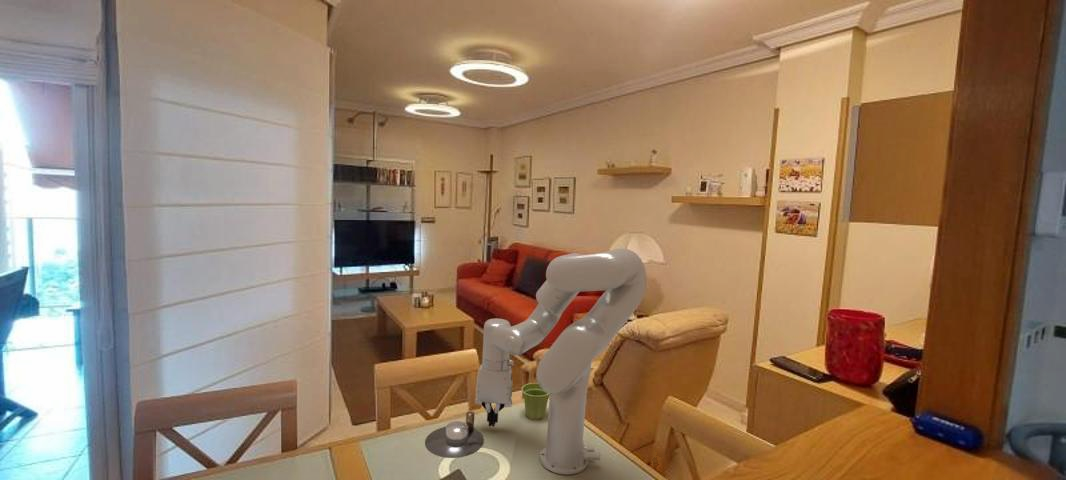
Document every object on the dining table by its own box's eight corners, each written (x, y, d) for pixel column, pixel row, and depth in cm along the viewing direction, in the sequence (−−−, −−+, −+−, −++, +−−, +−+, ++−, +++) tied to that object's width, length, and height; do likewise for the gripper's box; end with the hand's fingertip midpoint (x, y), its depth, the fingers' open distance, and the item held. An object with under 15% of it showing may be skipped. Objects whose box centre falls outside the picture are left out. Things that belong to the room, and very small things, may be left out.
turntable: (488, 431, 133) (489, 411, 132) (477, 464, 117) (478, 442, 116) (434, 426, 134) (434, 407, 133) (416, 458, 118) (417, 436, 117)
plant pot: (547, 424, 139) (548, 397, 138) (517, 420, 140) (518, 393, 139) (552, 410, 148) (553, 385, 147) (523, 406, 150) (525, 381, 149)
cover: (469, 435, 128) (470, 422, 128) (465, 447, 122) (465, 433, 122) (448, 434, 129) (449, 420, 128) (443, 445, 123) (443, 431, 122)
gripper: (522, 360, 132) (519, 419, 134) (472, 355, 133) (469, 415, 135) (520, 370, 125) (516, 433, 127) (466, 365, 126) (463, 428, 128)
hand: (492, 423), depth 131 cm, fingers closed
